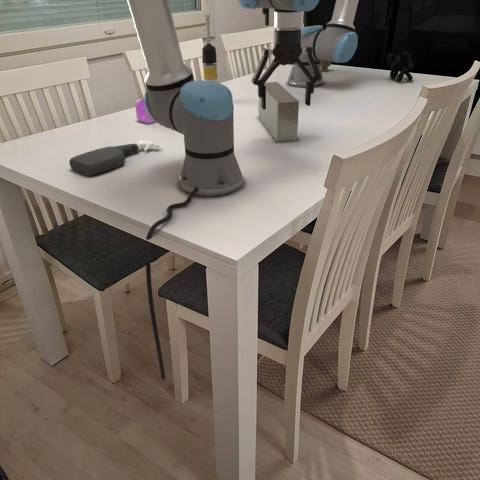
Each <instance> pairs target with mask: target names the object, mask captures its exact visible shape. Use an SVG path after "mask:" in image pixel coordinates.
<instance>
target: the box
mask: <svg viewBox="0 0 480 480" xmlns="http://www.w3.org/2000/svg"><path fill="white" fill-rule="evenodd" d="M264 85H265V86H266V109H264V110H263V108H262V107H261V98H260V97H259V96H258V119H259V120H260V122H261V123H262V125H264V126H265V128H266V130H267V131H268V132H269V133H270V135H271V136H272V137H273V139H274V140H275V141H276V143H282V142H294V141H295V142H296V141H298V127H299V109H300V101H299V100H298V99H297V98H296V97H295V96H294V95H293V94H292V93H290V92H289V91H288V90H287V89H285V87H284V86H283V85H281V84H280V83H279V82H278V81H269V82H268V81H266V82H265V84H264Z"/></svg>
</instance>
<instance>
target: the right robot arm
mask: <svg viewBox="0 0 480 480" xmlns="http://www.w3.org/2000/svg"><path fill="white" fill-rule="evenodd" d="M359 1H360V0H336V1H335V4H334V9H333V13H332V16H331V20H330V21H329V22H327V23H326V27H325V29H324V27H323V25H311V26H310V25H309V26H303V27H302V26H301V27H300V28H299V29H301V48H303V47H306V46H310V47H311V48H312V56H313V58H314V61H315V63H316V66H317V68H318V71H319V73H320V75H321V79H320V80H317V81H316V82H315V83H314V88H315V87H320V86H322V85H323V84H324V77H323V73H322V71H321V67H320V60H322V61H331V62H332V63H336V64H338V63H342V64H344V63H345V64H346V63H347V62H349V61H350V60H352V58H353V57H354V55H355V53H356V50H357V47H358V40H359V38H358V34H357V33H356V27H355V26H354V20H355V16H356V13H357V9H358V4H359ZM261 9H262V10H261V13H262V15H264V25H265V26H267V27H268V26H270V8H261ZM311 12H312V10H310V11H302V24H303V25H308V19H309V14H310V13H311ZM299 59H300V60H301V62H302V63H303V65H304V66H305V67H306V68H307V70H308V71H309V72H310V74H311V75H312V76H314V74H313V72H312V69H311V67H310V65H309V62H308V60H307V57H306V55H305V54H304V53H303V52H302V53H301V55H300V56H299ZM287 81H288V82H287V84H288V85H290V86H292V87H297V88H306V81H309V80H308V78H307V77H306V76H305V74H304V73H303V72H302V71H301V69H300V68H299V67H298V65H297V64H296V63H294V64H293V65H292V67H291V70H290V74H289V76H288V79H287Z"/></svg>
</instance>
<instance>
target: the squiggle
mask: <svg viewBox="0 0 480 480" xmlns="http://www.w3.org/2000/svg"><path fill="white" fill-rule="evenodd" d="M401 57H402V59H401ZM391 59H392V60H391ZM393 60H394V61H393ZM385 61H386V64H387V67H390V68H391V70H390V72H389V78H390V79H391V80H395V79H396V81H397V82H399V83H400V82H402V81H403V79H404V76H406V78H407V80H408V81H412V80H413V79H414V77H413V75H412V74H411V73H410V72H409V71H410V70H412V69H413V68H414V64H413V61H412V57H411V54H410V53H409V52H408V51H403V53H402V54H401V55H396V54H394V53H392V52H390V53H387V55H386V57H385ZM406 62H407V65H408V66H407V67H405V66H404V65H405V64H406ZM400 70H401V71H400Z"/></svg>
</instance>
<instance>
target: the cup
mask: <svg viewBox="0 0 480 480" xmlns="http://www.w3.org/2000/svg"><path fill="white" fill-rule="evenodd" d="M332 63H333V62H331V61H322V60H320V68H321V72H327V71H328V70H329V67H331V65H332Z"/></svg>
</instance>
